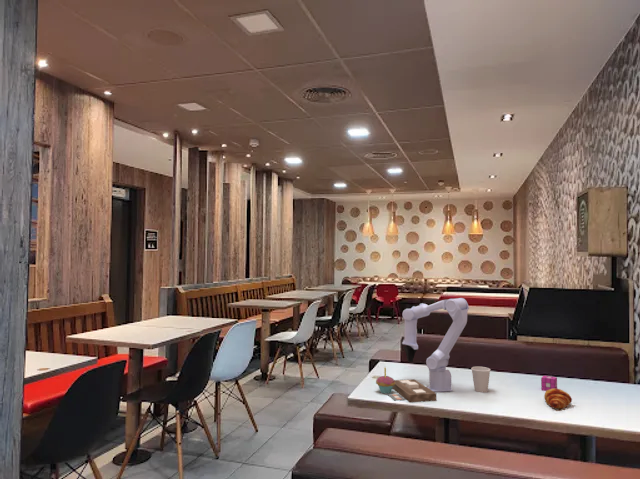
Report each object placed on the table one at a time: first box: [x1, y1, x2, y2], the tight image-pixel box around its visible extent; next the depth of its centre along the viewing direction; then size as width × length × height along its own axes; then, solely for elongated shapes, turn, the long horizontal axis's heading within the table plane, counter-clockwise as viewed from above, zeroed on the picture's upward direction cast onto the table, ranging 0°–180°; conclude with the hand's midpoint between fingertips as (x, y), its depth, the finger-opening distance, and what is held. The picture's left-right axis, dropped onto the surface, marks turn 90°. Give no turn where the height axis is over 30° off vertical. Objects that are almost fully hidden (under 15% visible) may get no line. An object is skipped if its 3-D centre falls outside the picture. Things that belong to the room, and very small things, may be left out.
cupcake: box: [375, 367, 395, 395], centre depth 206 cm, size 9×8×12 cm
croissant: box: [543, 388, 573, 409], centre depth 190 cm, size 21×10×8 cm, turn 151°
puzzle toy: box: [540, 375, 558, 392], centre depth 211 cm, size 6×6×6 cm
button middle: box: [406, 382, 419, 388], centre depth 204 cm, size 4×4×3 cm
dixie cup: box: [470, 366, 491, 393], centre depth 209 cm, size 8×8×10 cm
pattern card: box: [387, 393, 407, 402], centre depth 197 cm, size 5×8×1 cm, turn 11°
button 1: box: [398, 379, 410, 384], centre depth 212 cm, size 4×4×3 cm
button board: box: [392, 378, 437, 403], centre depth 204 cm, size 12×24×3 cm, turn 11°
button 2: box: [412, 389, 426, 394], centre depth 196 cm, size 4×4×3 cm
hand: (410, 361), depth 221 cm, fingers closed
